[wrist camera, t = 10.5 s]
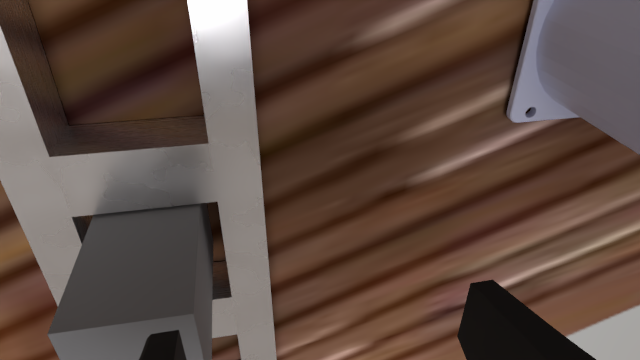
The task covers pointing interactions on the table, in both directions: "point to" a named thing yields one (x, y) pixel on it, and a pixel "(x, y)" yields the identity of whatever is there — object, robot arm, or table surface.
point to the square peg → (139, 285)
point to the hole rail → (143, 163)
